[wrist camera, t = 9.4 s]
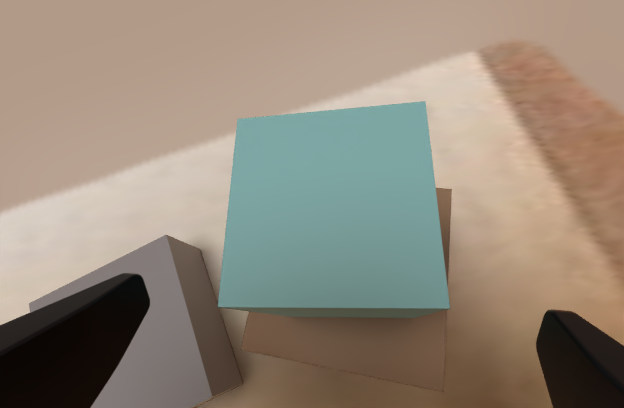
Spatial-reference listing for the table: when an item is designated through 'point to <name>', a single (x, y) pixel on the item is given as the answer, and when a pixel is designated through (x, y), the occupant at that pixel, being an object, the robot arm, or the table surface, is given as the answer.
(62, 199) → the table surface
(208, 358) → the grey flat square block
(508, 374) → the table surface
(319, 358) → the tower upper
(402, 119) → the teal block
